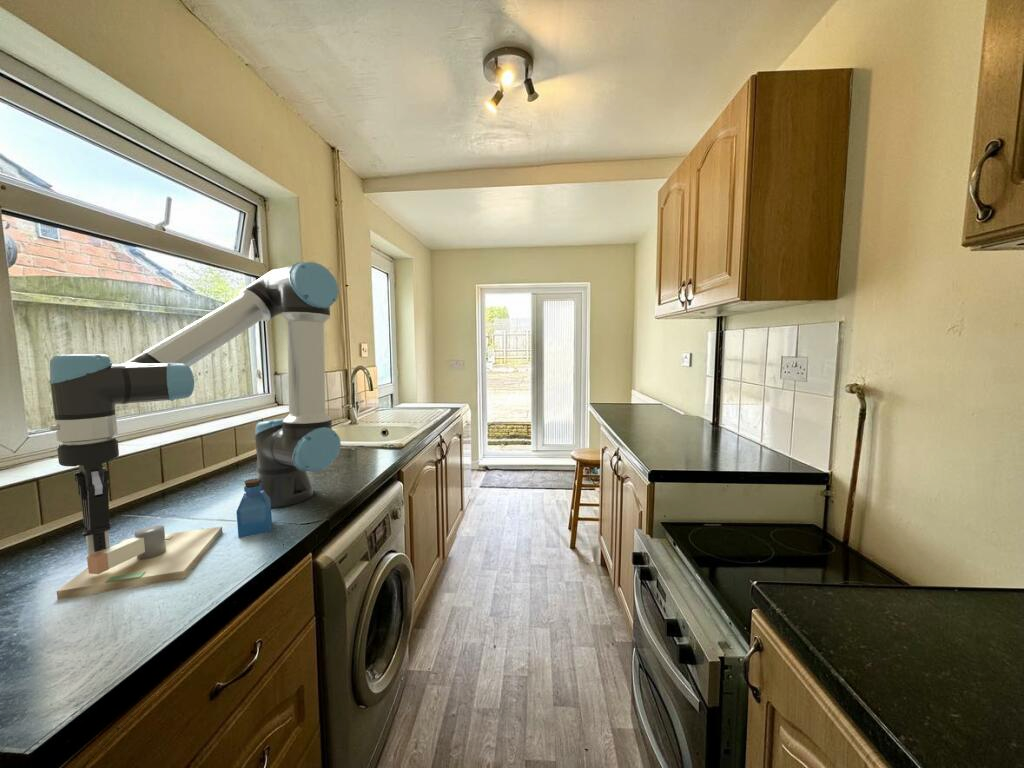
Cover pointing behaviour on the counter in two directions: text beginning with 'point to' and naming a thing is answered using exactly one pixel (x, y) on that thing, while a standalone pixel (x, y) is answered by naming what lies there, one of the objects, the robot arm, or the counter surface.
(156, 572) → the board
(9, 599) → the counter surface
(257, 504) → the perfume bottle
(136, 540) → the hammer
